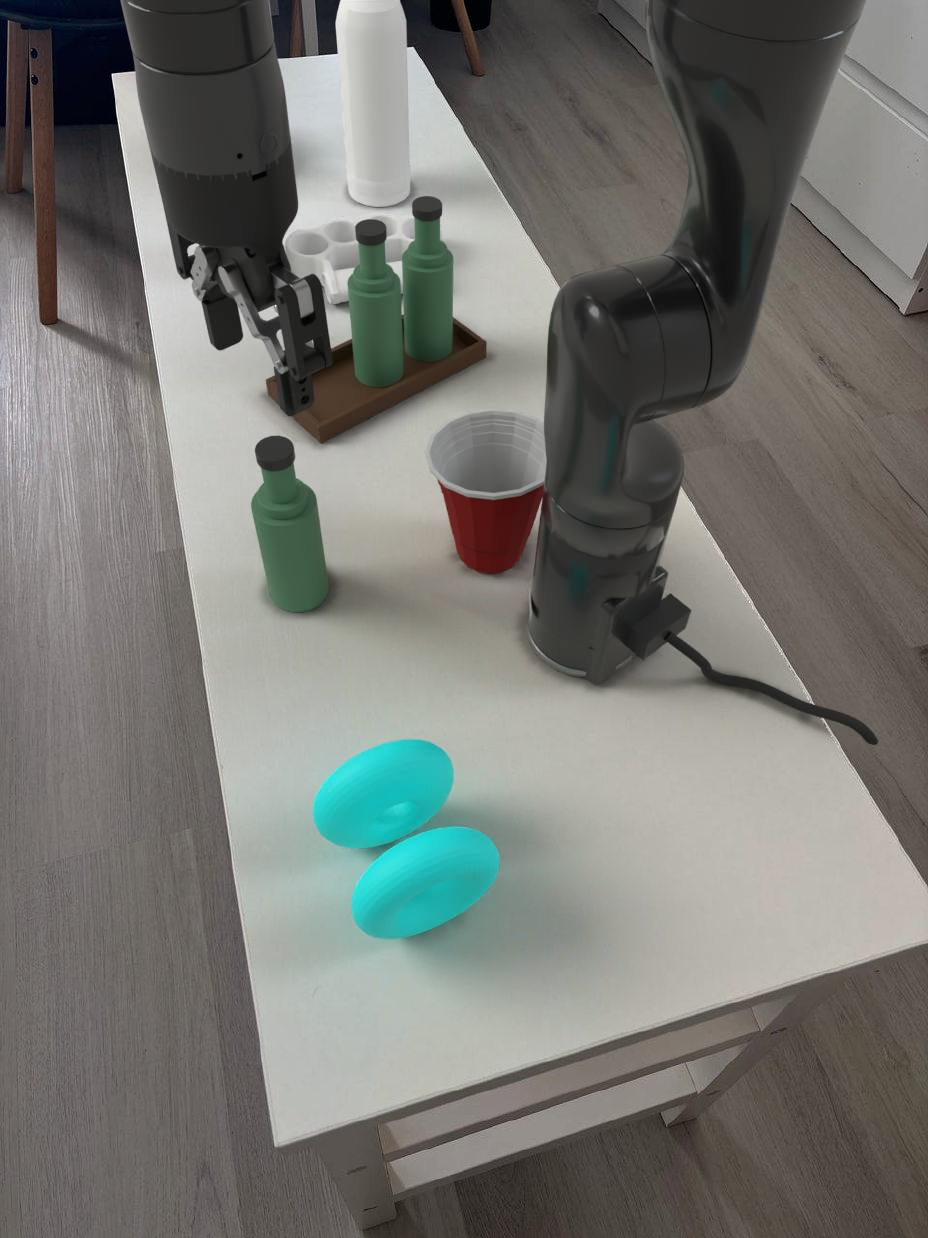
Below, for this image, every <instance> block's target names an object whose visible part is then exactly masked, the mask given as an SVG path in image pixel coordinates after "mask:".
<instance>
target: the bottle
mask: <svg viewBox="0 0 928 1238" xmlns="http://www.w3.org/2000/svg"><path fill="white" fill-rule="evenodd" d="M407 33H408V31H407V18H406V14H405V11H404V8H403V6H402V3H401V0H340V1H339V5H338V9H337V12H336V18H335V35H336V46H337V59H338V72H339V73H338V74H339V86H340V99H341V110H342V111H341V112H342V124H343V125H342V126H343V138H344V139H343V140H344V152H345V164H346V168H345V177H346V183H347V190H348V194H349V196H350V198H352V199H353V200H354V201H355V202H356V203H358V204H361V205H363V206H365V207H366V206H367V207H372V208H385V207H387V208H388V207H392V206H394V205H398V204H400V203H401V202H404V201H405V200H406V199H407V198H408V197H409V195H410V194H411V193H410V192H411V180H412V167H411V161H410V159H411V157H410V156H411V155H410V120H409V116H410V115H409V77H408V39H407V38H408V37H407V36H408V35H407Z"/></svg>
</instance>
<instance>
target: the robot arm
mask: <svg viewBox="0 0 928 1238" xmlns="http://www.w3.org/2000/svg"><path fill="white" fill-rule="evenodd" d="M867 1H868V0H645V8H644V20H645V22H644V23H645V24H644V25H645V36H646V37H645V38H646V44H647V49H648V53H649V57H650V61H651V65H652V68H653V71H654V74H655V77H656V80H657V83H658V86H659V89H660V91H661V94H662V97H663V99H664V102H665V105H666V107H667V110H668V112H669V114H670V117H671V120H672V122H673V125H674V127H675V129H676V132H677V134H678V137H679V139H680V142H681V146H682V149H683V151H684V155H685V159H686V161H687V171H688V181H687V182H688V183H687V188H686V189H687V190H686V195H685V200H684V203H683V204H684V205H683V209H682V213H681V217H680V220H679V224H678V227H677V230H676V232H675V235H674V237H673V239H672V241H671V243H670V245H669V246H668V248H666V250H665V251H664V252H662V253H661V254H656V255H652V256H647V257H643V258H638V259H635V260H630V261H627V262H623V263H622V262H621V263H617V264H614V265H610V266H606V267H601V268H597V269H593V270H589V271H585V272H581V273H579V274H576V275H572V277H570V278H568V279H567V280H565V282H564V283H563V284H562V285H561V287H560V288H559V290H558V291H557V294H556V296H555V298H554V301H553V304H552V307H551V311H550V315H549V324H548V330H547V344H546V345H547V346H546V376H545V377H546V378H545V396H544V397H545V398H544V409H543V410H544V412H543V413H544V414H543V422H544V438H545V449H546V461H547V463H546V473H545V480H544V489H543V497H542V500H541V504H540V513H539V523H538V531H537V541H536V547H535V548H536V549H535V556H534V565H533V566H534V567H533V573H532V583H531V584H530V582H528V585H527V593H528V595H527V596H528V605H529V606H528V607H529V609H528V612H527V616H526V617H527V618H526V623H525V624H526V626H525V631H526V637H527V640H528V643H529V645H530V647H531V649H532V651H533V652H534V653H535V655H536V656H537V658H539V659H540V660H541V661H542V662H543V663H545V664H546V665H547V666H549V667H550V668H552V669H554V670H555V671H557V672H560V673H562V674H565V675H568V676H572V677H577V678H585V679H586V680H588V681H589V682H590V683H591V684H592V685H595V686H598V685H600V684H601V683H603V682H604V681H605V680H607V679H608V678H609V677H611V676H612V675H613V674H615V673H616V672H617V671H619V670H622V668H625V666H627V665H628V664H629V663H630V662H631V661H632V660H633V659H635V658H636V657H638V658H639V659H641V660H642V661H644V660H646V659H647V658H649V657H650V656H651V655H653V654H654V653H655V652H657V651H658V650H659V649H660V648H662V647H663V646H665V645H666V644H667V643H668V645H670V646H672V647H673V648H674V649H676V650H677V651H678V652H680V653H681V654H682V655H684V656H685V657H686V658H688V659H689V660H690V661H692V662H693V664H695V665H696V666H697V667H698V668H700V671H701V673H702V675H703V676H704V677H705V678H706V679H707V680H709V681H712V682H714V683H717V684H719V685H725V686H731V687H737V688H743V689H749V690H751V691H755V692H757V693H760V694H762V695H765V696H767V697H769V698H772V699H774V700H775V701H777V702H779V703H782V704H783V705H785V706H788V707H790V708H791V709H794V710H797V711H799V712H802V713H805V714H808V715H811V716H813V717H816V718H817V717H818V718H820V719H824V720H828V721H831V722H835V723H838V724H841V725H844V726H846V727H848V728H850V729H852V730H853V731H855V732H856V733H857V734H859V735H860V737H861V738H862V739H863V740H864V741H865V742H866V743H867V744H869V745H872V746H877V745H878V744H879V741H878V738H877V735H876V734H875V733H874V732H873V731H872V729H871V728H870V727H869V726H868V725H867V724H865V723H864V722H862V721H861V720H860V719H857V718H856V717H854V716H851V715H849V714H847V713H844V712H842V711H838V710H834V709H831V708H827V707H824V706H821V705H817V704H813V703H811V702H808V701H804V700H802V699H800V698H797V697H795V696H793V695H791V694H788V693H787V692H784V691H783V690H780V688H779V689H778V688H776V687H775V686H773V685H771V684H767V683H765V682H763V681H760V680H757V679H754V678H750V677H745V676H739V675H733V674H732V675H731V674H727V673H723V672H719V671H716V670H715V669H713V667H712V664H711V663H710V661H709V660H708V659H707V657H705V656H703V654H702V653H700V652H699V650H696V649H695V648H694V647H692V646H691V645H690V644H688V643H687V642H686V641H685V640H683V639H682V638H680V637H679V636H678V635H679V634H680V633H682V632H683V631H684V630H686V628H687V625H688V622H689V619H690V617H691V614H692V609H691V608H689V607H688V606H687V605H686V604H684V602H682V601H681V600H680V599H678V598H677V597H676V596H675V595H674V594H672V593H669V594H666V596H664V597H663V595H664V592H665V589H666V585H667V582H668V578H669V572H668V570H666V569H665V568H664V567H663V566H661V565H660V563H661V560H662V557H663V553H664V549H665V545H666V541H667V538H668V534H669V531H670V527H671V524H672V520H673V516H674V512H675V509H676V505H677V501H678V498H679V494H680V491H681V487H682V483H683V479H684V475H685V474H684V473H685V459H684V454H683V451H682V449H681V446H680V445H679V443H678V441H677V440H676V439H675V437H674V436H673V434H671V433H670V431H668V430H667V429H666V428H665V427H664V426H663V425H661V424H660V423H659V422H657V421H655V420H656V419H659V418H664V417H667V416H671V415H674V414H678V413H681V412H684V411H685V412H686V411H688V410H691V409H694V408H695V409H696V408H698V407H701V406H703V405H705V404H706V405H707V404H708V403H710V402H712V401H714V400H716V399H717V398H719V397H721V396H722V395H724V394H725V393H726V392H727V391H728V390H729V389H730V388H732V386H733V385H734V384H735V382H736V380H737V379H738V378H739V376H740V374H741V372H742V370H743V369H744V366H745V364H746V361H747V359H748V356H749V354H750V350H751V349H752V346H753V342H754V339H755V335H756V332H757V329H758V324H759V321H760V319H761V318H760V317H761V314H762V310H763V306H764V303H765V298H766V294H767V290H768V287H769V284H770V283H769V282H770V279H771V276H772V271H773V268H774V264H775V259H776V257H777V252H778V249H779V245H780V241H781V237H782V234H783V231H784V228H785V223H786V221H787V216H788V213H789V210H790V207H791V205H792V201H793V197H794V195H795V192H796V189H797V186H798V183H799V181H800V179H801V174H802V172H803V170H804V166H805V163H806V161H807V158H808V155H809V152H810V149H811V146H812V142H813V140H814V137H815V134H816V131H817V129H818V125H819V123H820V120H821V117H822V114H823V111H824V108H825V106H826V103H827V100H828V97H829V94H830V92H831V90H832V88H833V84H834V82H835V78H836V76H837V74H838V71H839V69H840V67H841V65H842V62H843V60H844V57H845V54H846V53H847V50H848V48H849V45H850V42H851V40H852V38H853V35H854V34H855V31H856V28H857V26H858V23H859V21H860V19H861V17H862V14H863V11H864V9H865V6H866V4H867ZM120 4H121V9H122V13H123V18H124V21H125V22H124V23H125V26H126V30H127V35H128V39H129V43H130V47H131V51H132V58H133V62H134V73H135V83H136V92H137V98H138V103H139V108H140V109H139V110H140V114H141V117H142V123H143V126H144V130H145V134H146V139H147V143H148V147H149V151H150V155H151V159H152V164H153V167H154V172H155V177H156V180H157V184H158V189H159V193H160V198H161V202H162V207H163V211H164V215H165V221H166V225H167V226H166V227H167V231H168V235H169V238H170V244H171V249H172V255H173V259H174V263H175V268H176V272H177V273H178V275H179V277H180V278H182V280H188V279H191V281H192V283H191V288H192V292H193V294H194V295H193V296H195V298H196V299H197V300H198V301H200V304H201V307H202V311H203V316H204V317H203V318H204V320H205V325H206V326H205V327H206V331H207V334H208V339H209V343H210V345H211V346H212V347H214V348H215V349H216V350H217V351H220V352H221V351H224V350H226V349H228V348H230V347H233V346H236V345H237V344H239V343H240V342H242V341H243V338H244V331H243V327H242V320H241V316H240V313H241V315H242V317H243V319H244V322H245V324H246V326H247V328H248V330H249V332H250V335H251V336H252V337H253V338H254V339H257V340H260V341H262V342H263V344H264V346H265V348H266V350H267V353H268V355H269V357H270V359H271V362H272V363H273V373H274V375H275V379H276V385H277V391H278V397H279V404H280V406H279V408H280V410H281V411H282V412H283V413H284V414H285V415H286V416H287V417H291V416H294V415H296V414H298V413H300V412H302V411H304V410H306V409H308V408H309V407H311V406H312V405H313V404H314V400H315V398H314V390H313V382H312V375H311V374H312V373H314V372H316V371H318V370H320V369H322V368H326V367H328V366H330V365H332V363H333V359H332V352H331V348H332V346H331V340H330V332H329V325H328V317H327V311H326V304H325V296H324V291H323V289H324V288H323V286H322V285H321V282H320V280H319V278H318V277H317V276H316V275H315V274H310V275H308V276H306V277H303V278H299V277H298V276H296V275H295V274H293V273H292V272H291V267H290V263H289V261H288V258H287V255H286V248H285V244H284V243H283V242H284V238H285V236H286V234H287V232H288V231H289V229H290V227H291V225H292V224H293V222H294V221H295V219H296V217H297V215H298V210H299V195H298V188H297V179H296V172H295V171H296V170H295V162H294V154H293V147H292V145H293V144H292V136H291V129H290V120H289V119H290V118H289V112H288V104H287V103H288V102H287V95H286V89H285V83H284V79H283V74H282V71H281V67H280V62H279V58H278V53H277V50H276V45H275V44H276V43H275V37H274V29H273V19H272V12H271V11H272V10H271V5H270V4H271V3H270V0H120ZM196 244H197V245H198V246H196V247H195V248H194V252H193V254H191V255H189V253H188V252H189V251H188V249H189V247H190V246H193V245H196ZM272 307H273V310H274V311H275V313H277V316H275V317H273V318H271V319H268V320H266V319H263V318H262V317H261V315H260V314H259V313H260V312H263V311H266V310H268V309H270V308H272ZM279 331H280V332H281V337H282V342H283V347H284V349H283V347H282V344H281V342H280V340H279V337H278V332H279Z"/></svg>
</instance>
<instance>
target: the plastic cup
mask: <svg viewBox="0 0 928 1238" xmlns="http://www.w3.org/2000/svg"><path fill="white" fill-rule="evenodd" d="M424 454H425V459H426V462H427V466H428V470H429V472H430V474H431V475H432V476H433V477H435V479H436V481H437V483H438V485H439V487H440V490H441V494H442V496H443V500H444V505H445V508H446V513H447V518H448V521H449V526H450V530H451V533H452V536H453V540H454V545H455V549H456V553H457V555H458V556H459V559H460V560H461V561H462V563H463V564H464V565H465V566H466V567H467V568H470V569H471V570H473V571H475V572H477V573H482V574H488V575H493V574H499V573H503V572H505V571H507V570H510V569H511V568H513V567H515V565H516V564H517V563H518V561H520V558H521V557H522V556H523V554H524V550H525V548H526V545H527V542H528V538H529V537H530V536H531V533H532V530H533V527H534V525H535V521H536V518H537V515H538V512H539V509H540V507H541V504H542V497H543V489H544V480H545V473H546V463H547V461H546V449H545V438H544V420H541V419H540V418H538V417H535V416H533V415H530V414H527V413H524V412H523V411H519V410H514V409H505V408H493V407H491V408H486V409H485V408H484V409H479V410H472V411H467V412H464V413H462V414H460V415H459V414H458V416H455V417H453V418H450V419H448V420H446V421H444V422H443V423H442V424H441V425H440V426H439V427H438V428H437V429H435V431H433V432H432V433H431V434H430V436H429V439H428V442H427V445H426V447H425V449H424Z"/></svg>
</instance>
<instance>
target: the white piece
mask: <svg viewBox="0 0 928 1238" xmlns="http://www.w3.org/2000/svg"><path fill="white" fill-rule="evenodd" d="M367 219H375V220H379V221H382V222H383V223H384V224H385V225H386V231H387V238H386V240H385V257H386V264H388V265H390V266H391V267H392V269H393V271H394V272H395V273H396V274H397V275H398V276H399V278H400V282H401V294H403V278H402V255H403V253H404V252H405V251H406V250H407V249H408V246H409V244H410V243H411V242H412V241H414V240H415V222H414V216H413V214H409V215H396V214H392V213H391V214H390V213H388V212H369V213H367V214H364V215H363V214H362V215H360V216H339V217H336V218H332V219H328V220H326V221H325V222H324V223H323V224H321V225H318V226H315V227H311V228H301V229H300V228H299V229H296V230H294V231H292V232H291V233H290V234H289V235H288V236H287V237H286V239H285V242H284V249H285V252H286V255H287V258H288V261H289V263H290V267H291V272H292V273H293V274H295V275H296V276H298V277H299V278H303V277H306V276H308V275H310V274H315V275H316V276H317V277H318V278H319V280H320V282H321V285H322V288H323V289H324V291H325V295H326V299H327V301H328V304H330V305H331V304H334V305H336V304H340V303H347V302H349V297H348V285H347V282H348V279H349V277H350V276H351V275H352V274H353V271H354V269H355V268H356V267H357V266H358V265H359V264H360V259H359V245H358V241H357V240H356V234H355V226H356V224H357V223H359V222H360V221H363V220H367ZM442 228H443V227H442V225H441V224H440V240H441V241H443V229H442Z"/></svg>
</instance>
